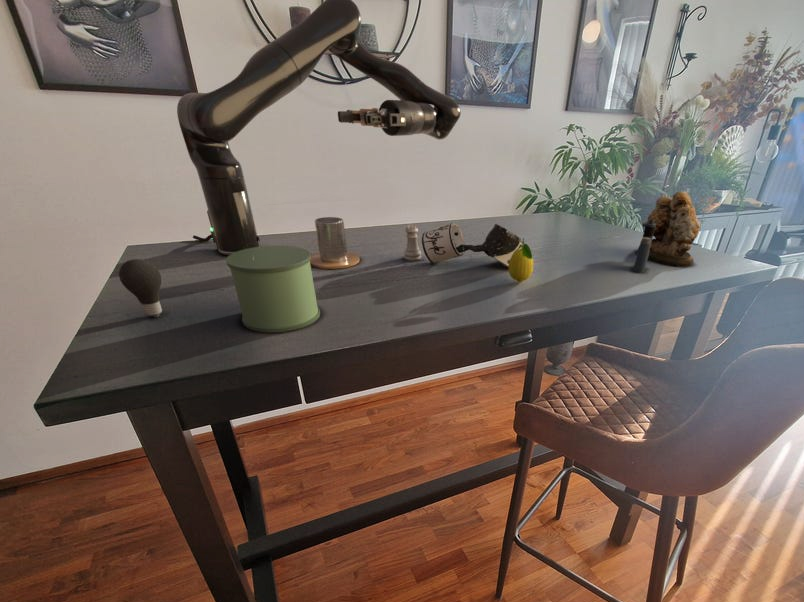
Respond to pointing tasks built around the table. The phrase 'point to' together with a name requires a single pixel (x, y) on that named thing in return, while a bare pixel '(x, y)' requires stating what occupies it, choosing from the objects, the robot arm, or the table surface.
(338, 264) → the cork mat
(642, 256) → the vaping device
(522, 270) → the lemon
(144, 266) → the light bulb
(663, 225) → the owl figurine
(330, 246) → the silver cup
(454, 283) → the table surface
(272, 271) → the green round canister
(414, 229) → the rook chess piece
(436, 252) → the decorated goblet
